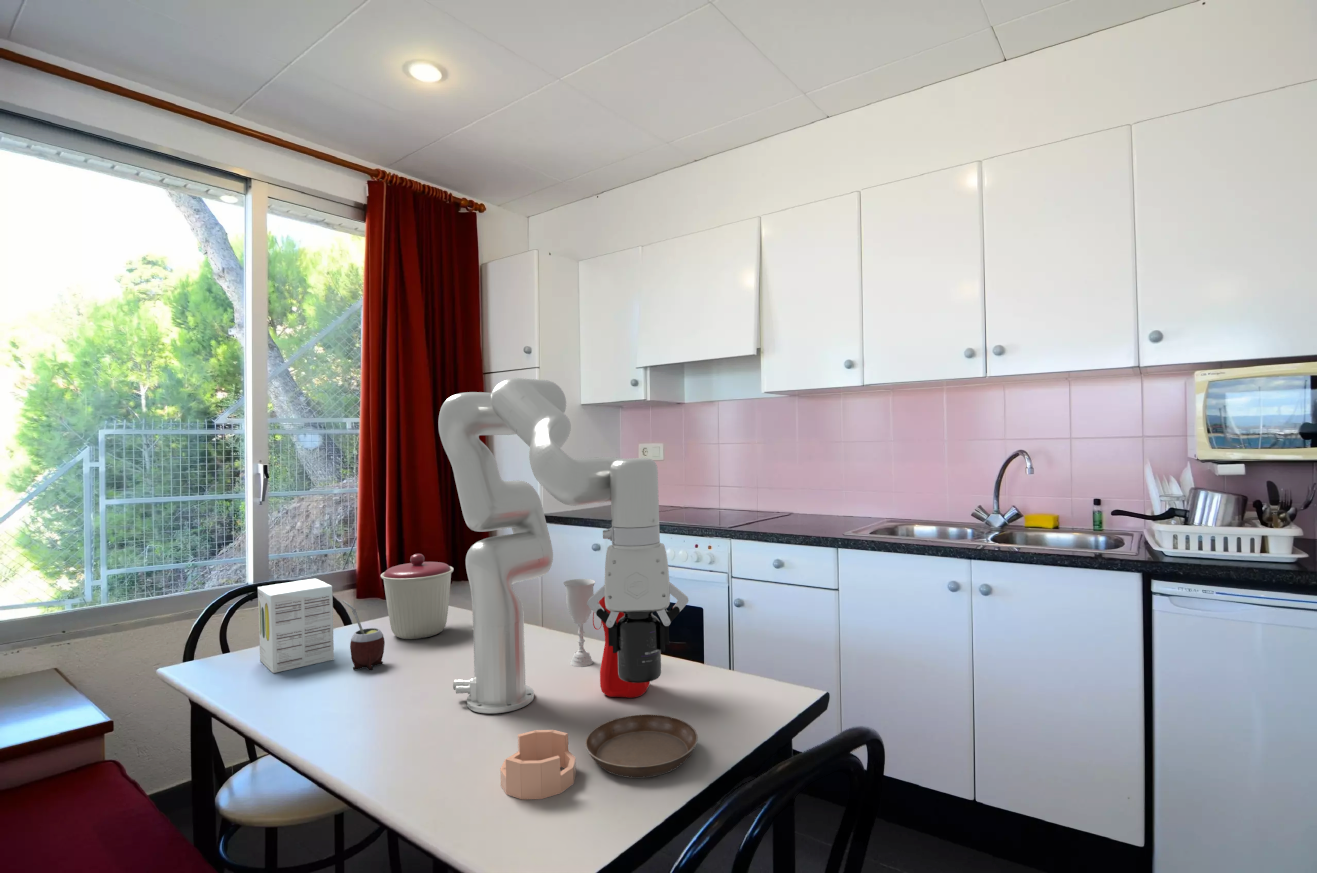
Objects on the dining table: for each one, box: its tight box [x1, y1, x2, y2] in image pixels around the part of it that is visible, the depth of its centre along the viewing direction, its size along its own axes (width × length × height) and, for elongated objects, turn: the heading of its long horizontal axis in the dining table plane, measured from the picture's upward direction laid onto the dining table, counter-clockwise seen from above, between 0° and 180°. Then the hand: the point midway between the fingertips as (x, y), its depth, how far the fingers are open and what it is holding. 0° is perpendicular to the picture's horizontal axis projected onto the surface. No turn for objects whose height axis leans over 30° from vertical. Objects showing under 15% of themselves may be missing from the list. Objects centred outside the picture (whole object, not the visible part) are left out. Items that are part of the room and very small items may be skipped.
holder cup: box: [499, 729, 577, 800], centre depth 98 cm, size 11×11×5 cm
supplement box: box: [257, 578, 335, 674], centre depth 157 cm, size 13×13×18 cm
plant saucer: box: [584, 713, 699, 779], centre depth 105 cm, size 18×18×3 cm
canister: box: [380, 553, 454, 640], centre depth 176 cm, size 18×18×21 cm
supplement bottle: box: [617, 611, 662, 683], centre depth 105 cm, size 7×7×12 cm
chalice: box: [563, 578, 596, 668], centre depth 149 cm, size 7×7×18 cm
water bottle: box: [592, 596, 651, 699], centre depth 132 cm, size 9×11×25 cm
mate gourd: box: [342, 599, 385, 672], centre depth 151 cm, size 8×8×15 cm
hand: (639, 648), depth 105 cm, fingers closed on supplement bottle, 6 cm apart
